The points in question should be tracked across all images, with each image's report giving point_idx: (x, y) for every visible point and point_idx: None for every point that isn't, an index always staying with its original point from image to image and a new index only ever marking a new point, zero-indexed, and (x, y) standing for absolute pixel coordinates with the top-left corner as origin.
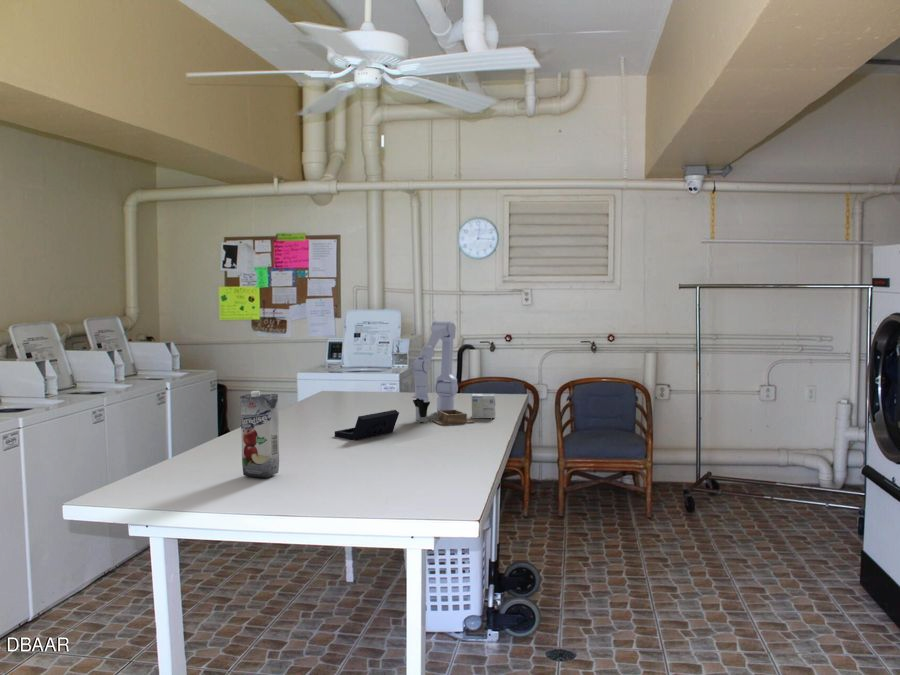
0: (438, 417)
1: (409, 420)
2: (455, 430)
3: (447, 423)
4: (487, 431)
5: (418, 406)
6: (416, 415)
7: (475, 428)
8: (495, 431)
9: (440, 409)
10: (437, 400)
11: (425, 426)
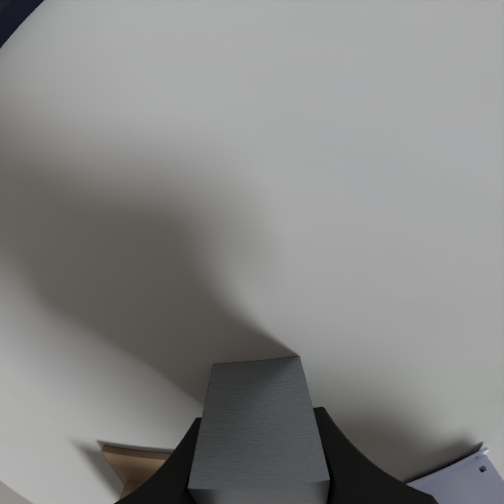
0: None
1: (388, 309)
2: (4, 429)
3: (120, 478)
4: (20, 480)
5: (282, 498)
6: (283, 399)
7: (56, 490)
8: (26, 491)
9: (440, 495)
10: (501, 496)
11: (67, 366)
